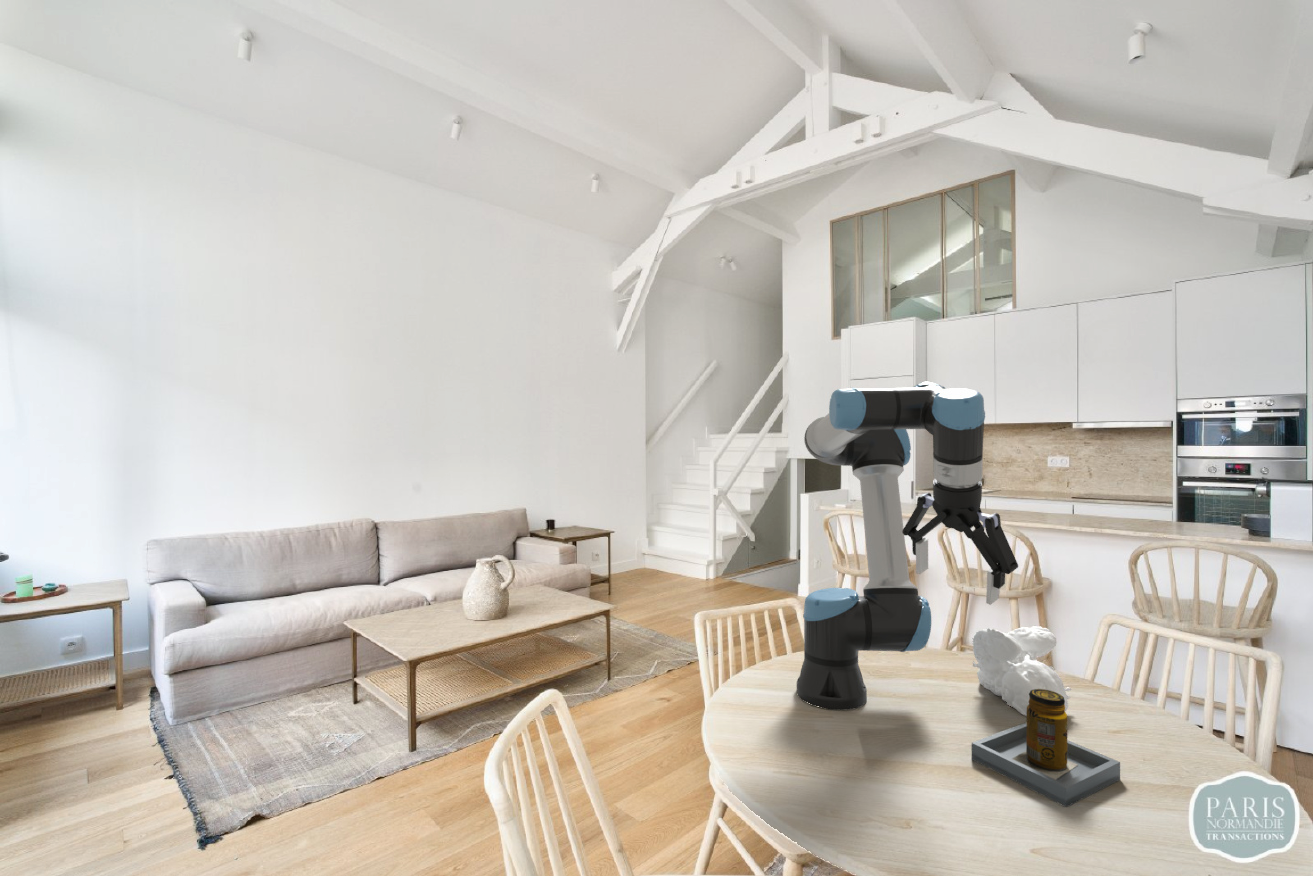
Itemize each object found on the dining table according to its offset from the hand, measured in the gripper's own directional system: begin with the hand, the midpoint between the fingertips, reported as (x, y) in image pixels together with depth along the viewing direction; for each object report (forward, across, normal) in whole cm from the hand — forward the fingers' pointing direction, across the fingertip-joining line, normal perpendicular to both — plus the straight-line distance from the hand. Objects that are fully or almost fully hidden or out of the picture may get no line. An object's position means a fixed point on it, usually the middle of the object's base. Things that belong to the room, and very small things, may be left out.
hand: (955, 585), depth 111 cm
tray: (+29, +17, -1) cm, 34 cm away
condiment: (+28, +17, -1) cm, 33 cm away
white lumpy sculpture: (+40, +2, +22) cm, 46 cm away
